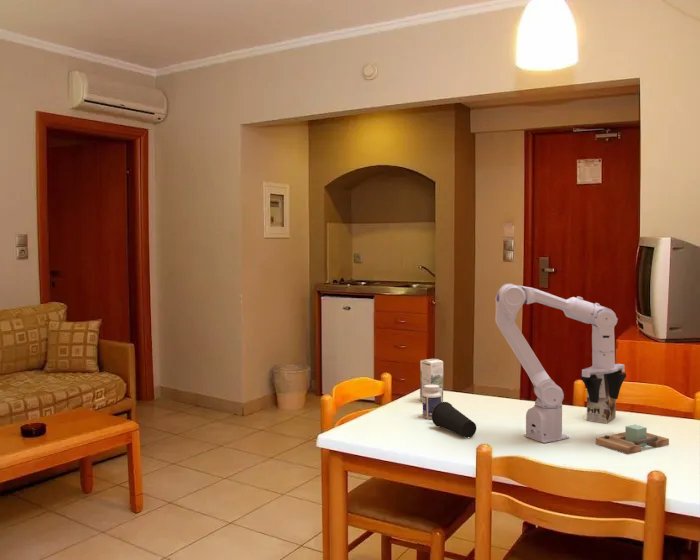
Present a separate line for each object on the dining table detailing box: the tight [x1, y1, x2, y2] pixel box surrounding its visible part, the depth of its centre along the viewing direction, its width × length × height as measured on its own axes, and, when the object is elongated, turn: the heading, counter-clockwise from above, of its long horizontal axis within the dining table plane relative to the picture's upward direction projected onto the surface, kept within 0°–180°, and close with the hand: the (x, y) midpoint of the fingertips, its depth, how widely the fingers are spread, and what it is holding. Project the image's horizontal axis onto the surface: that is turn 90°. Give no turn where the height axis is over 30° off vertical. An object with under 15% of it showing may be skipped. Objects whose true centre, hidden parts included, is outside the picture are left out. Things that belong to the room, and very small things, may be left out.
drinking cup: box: [431, 401, 477, 439], centre depth 187 cm, size 8×8×20 cm
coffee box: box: [586, 374, 617, 424], centre depth 197 cm, size 9×6×16 cm
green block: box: [624, 424, 648, 448], centre depth 170 cm, size 4×4×5 cm
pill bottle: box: [422, 385, 441, 420], centre depth 201 cm, size 6×6×10 cm
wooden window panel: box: [595, 431, 670, 455], centre depth 171 cm, size 16×10×3 cm, turn 118°
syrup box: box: [419, 358, 444, 403], centre depth 222 cm, size 6×6×14 cm
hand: (604, 400), depth 177 cm, fingers open, 7 cm apart
